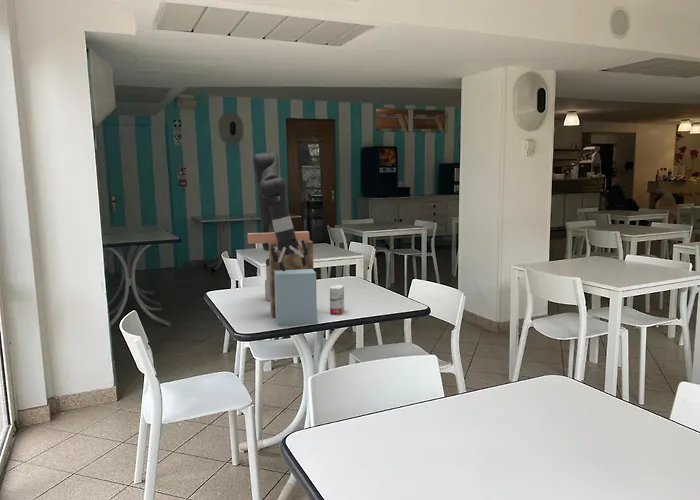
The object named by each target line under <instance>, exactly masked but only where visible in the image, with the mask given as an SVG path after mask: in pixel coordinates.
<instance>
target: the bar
mask: <svg viewBox="0 0 700 500" xmlns="http://www.w3.org/2000/svg"><path fill="white" fill-rule="evenodd" d="M269 232H270V233H262V232H248V233H247V244H249V245H250V244H262V243H277V239H276V235H275V231H269ZM294 232H295V235H296V239H297V241H302V240H303V239H304V240H305V241H306V242H307V241H310V240H311V239H310V232H309V231H308V230H305V231H303V230H302V231H301V230H300V231H294Z"/></svg>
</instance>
